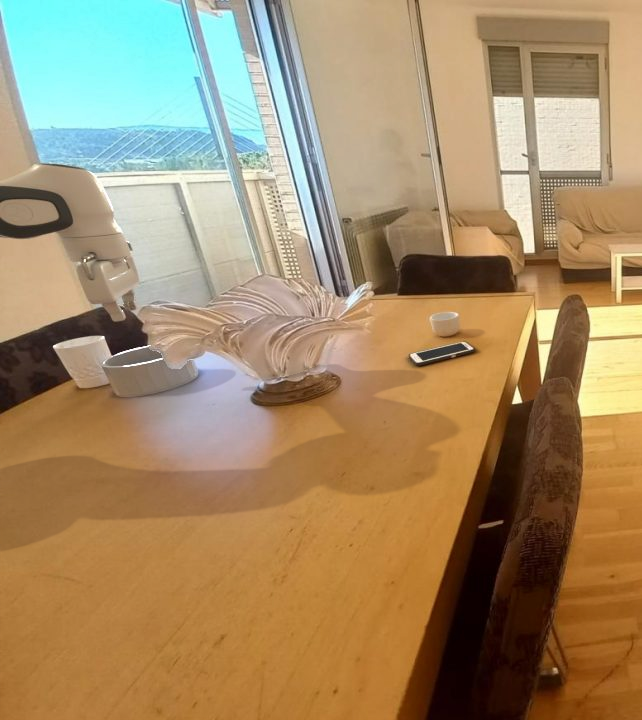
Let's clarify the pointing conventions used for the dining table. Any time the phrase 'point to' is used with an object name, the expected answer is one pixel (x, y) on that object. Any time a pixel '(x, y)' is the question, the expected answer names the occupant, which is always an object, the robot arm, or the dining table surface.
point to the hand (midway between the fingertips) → (126, 315)
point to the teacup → (445, 323)
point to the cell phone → (441, 353)
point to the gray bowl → (144, 373)
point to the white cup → (85, 360)
